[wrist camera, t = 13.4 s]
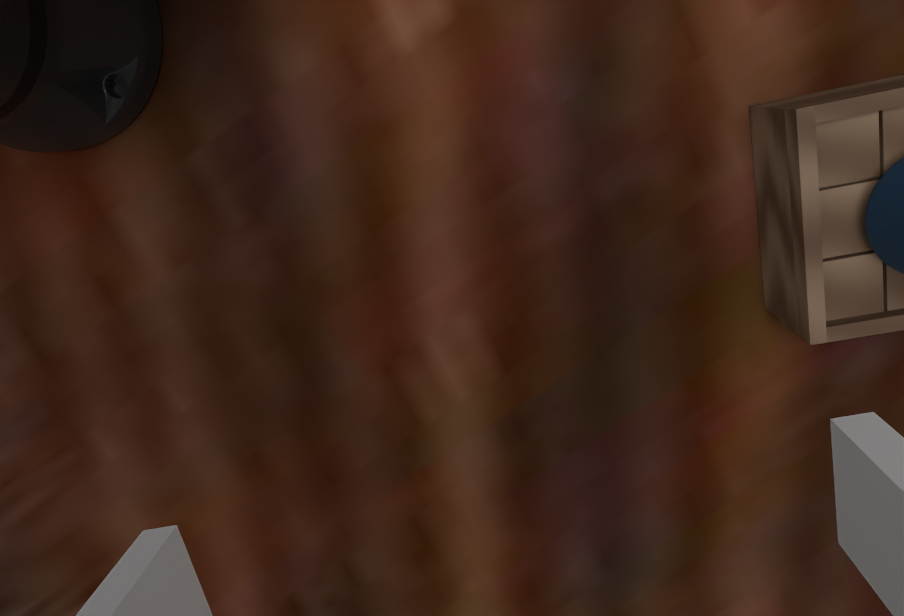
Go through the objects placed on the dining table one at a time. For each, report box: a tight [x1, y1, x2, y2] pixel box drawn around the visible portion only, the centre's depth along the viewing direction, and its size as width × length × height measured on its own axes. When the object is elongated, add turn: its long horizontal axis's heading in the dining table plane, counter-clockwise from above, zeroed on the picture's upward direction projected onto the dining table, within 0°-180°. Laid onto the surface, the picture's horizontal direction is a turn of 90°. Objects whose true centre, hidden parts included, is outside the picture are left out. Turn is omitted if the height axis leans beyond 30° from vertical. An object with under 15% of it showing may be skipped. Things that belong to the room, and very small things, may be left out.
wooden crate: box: [749, 75, 904, 345], centre depth 39 cm, size 13×13×7 cm
